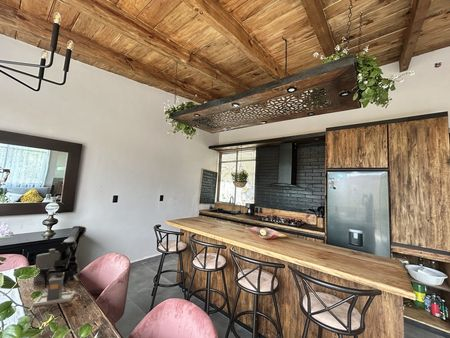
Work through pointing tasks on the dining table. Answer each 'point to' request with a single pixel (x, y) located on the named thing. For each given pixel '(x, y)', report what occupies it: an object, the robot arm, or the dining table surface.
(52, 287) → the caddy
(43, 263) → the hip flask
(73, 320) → the dining table surface
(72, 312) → the dining table surface
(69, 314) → the dining table surface
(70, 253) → the robot arm
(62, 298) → the tray
